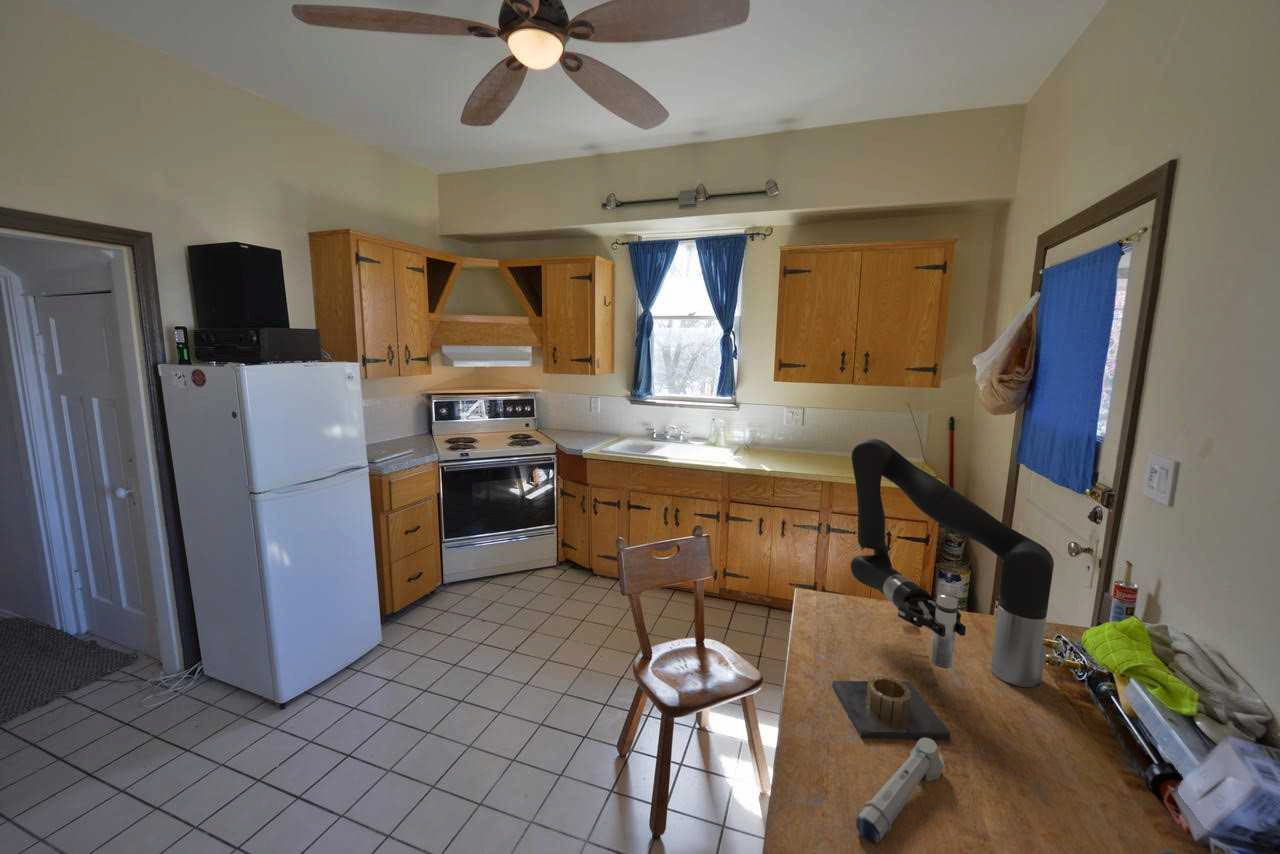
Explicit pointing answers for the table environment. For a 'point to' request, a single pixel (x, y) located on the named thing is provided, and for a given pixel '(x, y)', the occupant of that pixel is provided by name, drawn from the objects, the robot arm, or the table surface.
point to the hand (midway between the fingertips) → (953, 632)
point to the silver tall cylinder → (947, 618)
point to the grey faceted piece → (899, 790)
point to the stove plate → (886, 725)
